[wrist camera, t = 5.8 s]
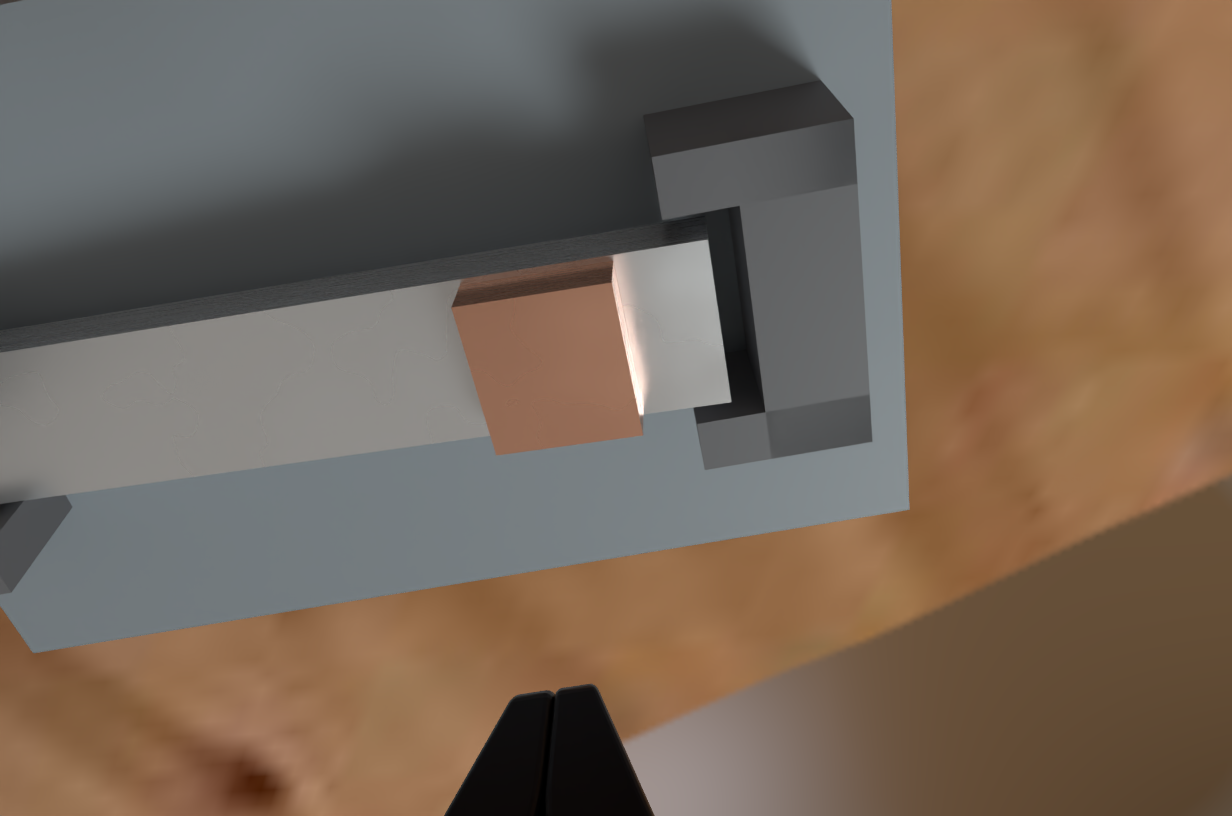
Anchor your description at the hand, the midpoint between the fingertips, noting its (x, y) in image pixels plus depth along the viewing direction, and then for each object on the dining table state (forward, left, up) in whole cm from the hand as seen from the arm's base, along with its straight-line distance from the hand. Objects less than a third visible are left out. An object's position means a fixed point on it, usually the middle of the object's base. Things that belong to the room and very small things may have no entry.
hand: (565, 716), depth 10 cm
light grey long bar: (-5, 0, -9) cm, 11 cm away
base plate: (-4, 0, -12) cm, 12 cm away
